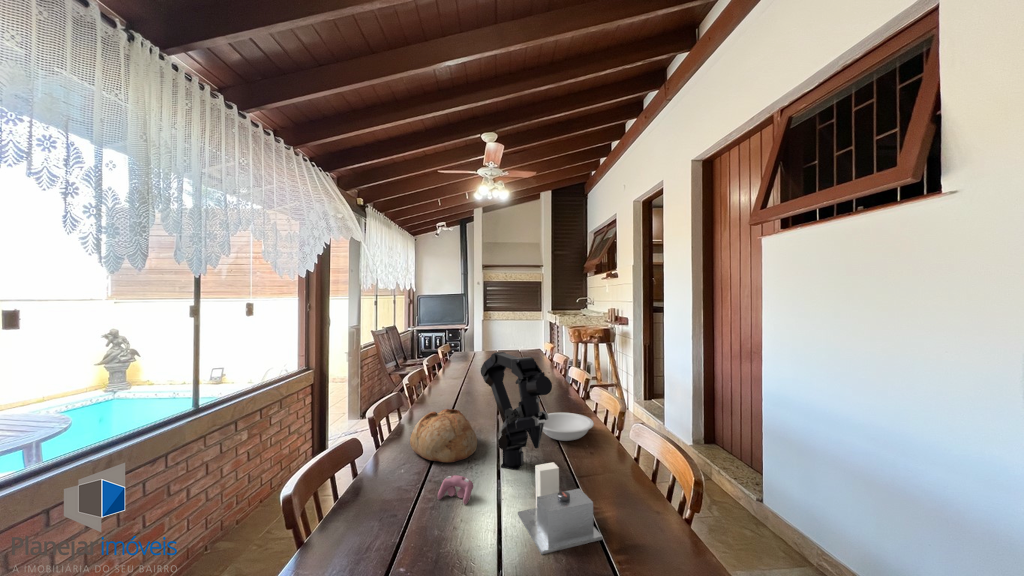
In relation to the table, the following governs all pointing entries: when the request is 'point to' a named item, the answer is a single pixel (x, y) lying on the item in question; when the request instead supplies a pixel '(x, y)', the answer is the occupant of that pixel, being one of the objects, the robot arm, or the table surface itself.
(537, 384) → the robot arm
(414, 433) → the bread
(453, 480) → the video game controller
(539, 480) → the white rectangular block
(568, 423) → the soup bowl
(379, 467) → the table surface
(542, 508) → the mount
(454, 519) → the table surface
